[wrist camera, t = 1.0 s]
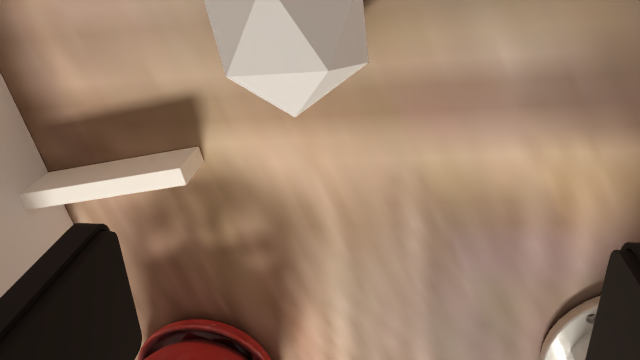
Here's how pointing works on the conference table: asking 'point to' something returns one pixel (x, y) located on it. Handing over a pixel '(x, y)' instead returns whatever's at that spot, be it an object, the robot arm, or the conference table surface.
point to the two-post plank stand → (63, 189)
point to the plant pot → (201, 343)
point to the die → (289, 46)
